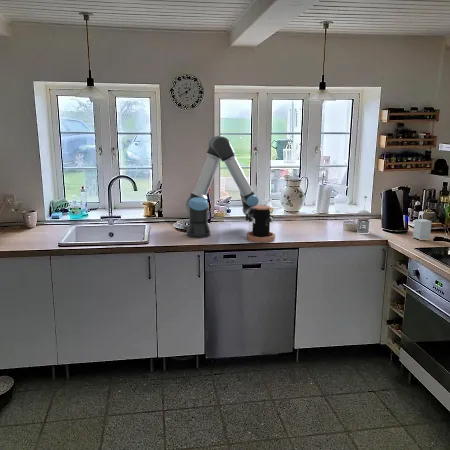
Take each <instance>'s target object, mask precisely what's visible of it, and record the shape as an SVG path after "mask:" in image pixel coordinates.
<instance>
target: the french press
mask: <svg viewBox="0 0 450 450" xmlns="http://www.w3.org/2000/svg"><path fill="white" fill-rule="evenodd" d="M363 198H364V200H366V199H367V198H368V196H366V195H364V196H363ZM360 215H363V216H365V215H368V216H369V215H371V212H370V211H368V210H366V206H364V209H362V210H359V211H358V212H357V214H354V216H353V218H352V220H353V223H355V222H356V223H357V224H356V228H357V227H358V228H357V229H358V230H357V232H358V233H368V232H369V231H370V230H369V229H370V219H369V218H367V217H359V216H360ZM356 216H357V218H358V220H357V221H356V220H355V217H356ZM357 225H359V226H357ZM369 233H370V232H369Z"/></svg>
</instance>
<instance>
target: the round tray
mask: <svg viewBox="0 0 450 450" xmlns="http://www.w3.org/2000/svg"><path fill="white" fill-rule="evenodd" d="M252 231H253V230H251V231H248V232H247V233H246V234H245V235H246V236H245V238H246V240H248V241H250V242H254V243H271V242H274V241H275V239H276V233H274V232H272V231H270V232H269V235H268V236H267V237H256V236H254V235H253V233H252Z"/></svg>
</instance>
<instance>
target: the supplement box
mask: <svg viewBox="0 0 450 450" xmlns="http://www.w3.org/2000/svg"><path fill="white" fill-rule="evenodd" d="M432 221H433V220H428V219H425V218H422V219H421V218H418V219H417V218H416V219H414V224H413V234H412V238H413V237H415V238H418V239H430V238H431V230H432ZM430 240H431V239H430Z"/></svg>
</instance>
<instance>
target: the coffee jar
mask: <svg viewBox="0 0 450 450" xmlns="http://www.w3.org/2000/svg"><path fill="white" fill-rule="evenodd" d="M253 209H254V210H253V218H254V219H255V223H253V222H252V230H251V231H252V233H253V235H254V236H256V237H267V236H268V235H269V232H271V231H270V227H271V226H270V225H271V222H270V215H271V207H270V206H269V205H262V204H261V205H260V204H257V205H256V206H253Z"/></svg>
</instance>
